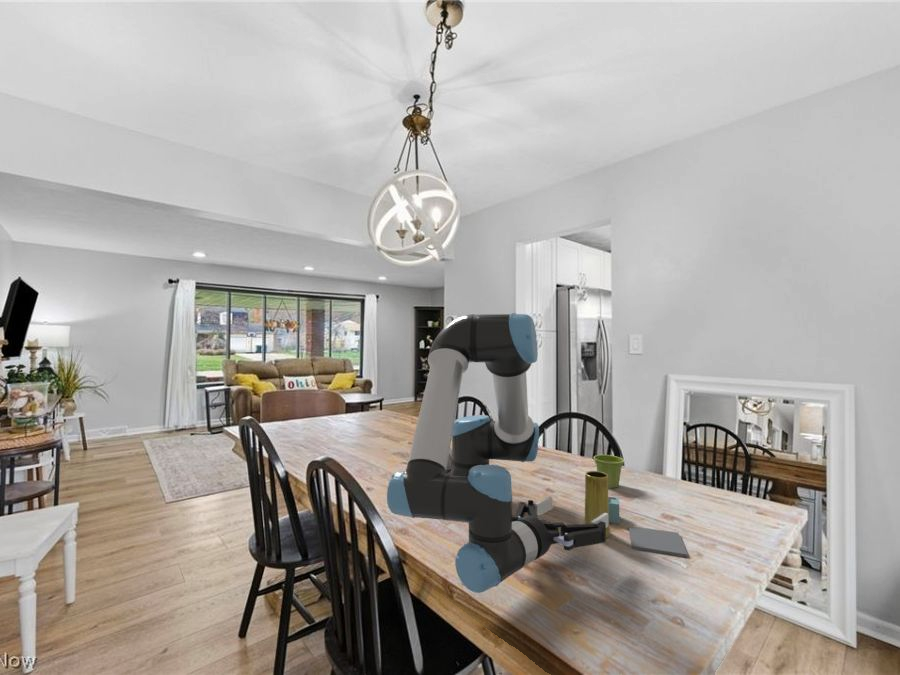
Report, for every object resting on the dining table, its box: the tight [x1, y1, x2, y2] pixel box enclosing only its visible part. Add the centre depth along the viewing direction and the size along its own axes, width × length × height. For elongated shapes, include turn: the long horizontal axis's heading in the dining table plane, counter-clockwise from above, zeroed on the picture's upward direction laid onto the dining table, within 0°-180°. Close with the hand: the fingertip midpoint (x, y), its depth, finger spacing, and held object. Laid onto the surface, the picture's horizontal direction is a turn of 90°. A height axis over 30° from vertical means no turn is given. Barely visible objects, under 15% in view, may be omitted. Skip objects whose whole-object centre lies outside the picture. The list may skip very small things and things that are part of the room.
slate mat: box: [628, 525, 688, 558], centre depth 95 cm, size 11×11×1 cm
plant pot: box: [593, 454, 625, 489], centre depth 134 cm, size 9×9×9 cm
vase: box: [584, 470, 611, 539], centre depth 100 cm, size 6×6×14 cm
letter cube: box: [608, 496, 620, 525], centre depth 108 cm, size 5×5×5 cm
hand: (577, 510), depth 93 cm, fingers open, 13 cm apart
